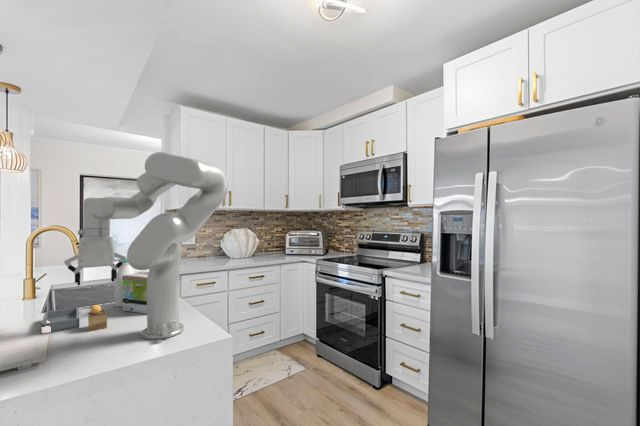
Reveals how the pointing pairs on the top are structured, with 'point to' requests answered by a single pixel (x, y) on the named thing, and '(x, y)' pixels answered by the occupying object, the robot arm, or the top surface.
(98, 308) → the ball
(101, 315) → the brown wooden cube
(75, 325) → the tray
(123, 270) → the milk bottle
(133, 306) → the tea box
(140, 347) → the top surface
